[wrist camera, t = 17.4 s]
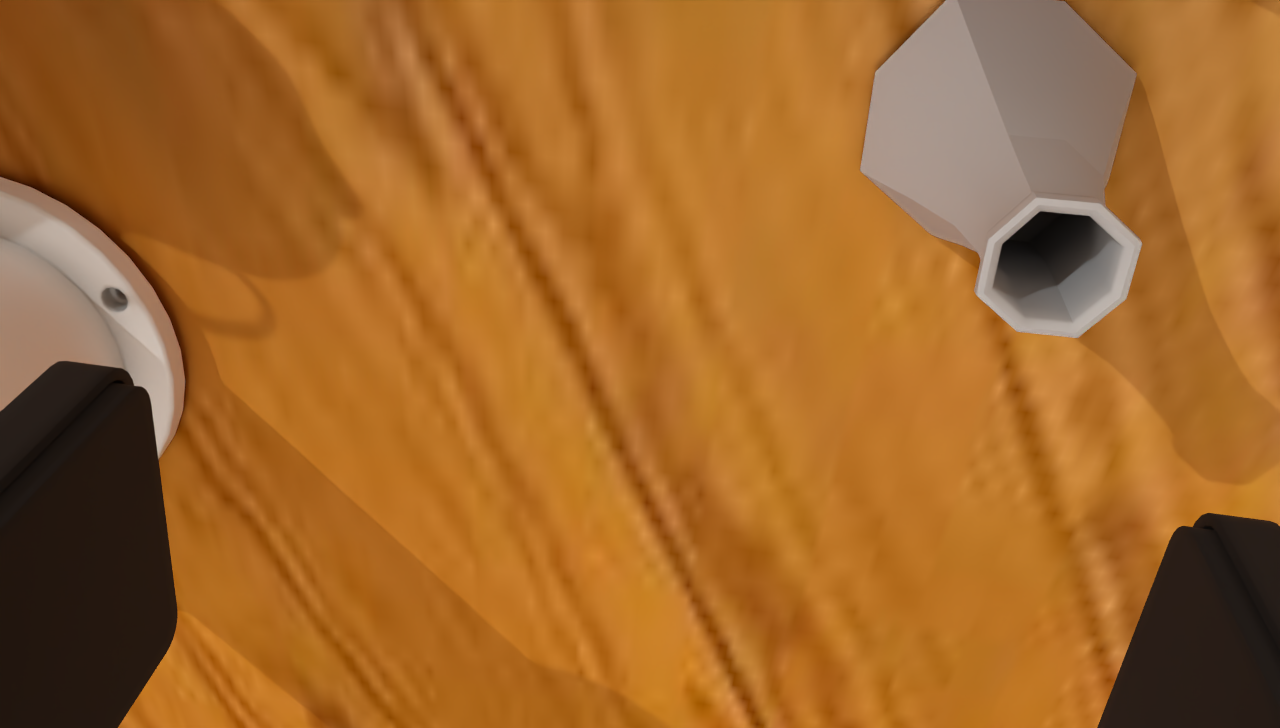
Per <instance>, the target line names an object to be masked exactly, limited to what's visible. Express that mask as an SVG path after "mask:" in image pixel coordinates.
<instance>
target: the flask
mask: <svg viewBox="0 0 1280 728" xmlns="http://www.w3.org/2000/svg"><path fill="white" fill-rule="evenodd" d="M1136 75H1137V73H1136V72H1135V71H1134V70H1133V69H1132V68H1131V67H1130V66H1129V65H1128V64H1127V63H1126V62H1125V61H1124V60H1123V59H1122V58H1121V57H1120V56H1119V55H1118V54H1117V53H1116V52H1115V51H1114V50H1113V49H1112V48H1111V47H1110V46H1109V45H1108V44H1107V43H1106V42H1105V41H1104V40H1103V39H1102V38H1101V37H1100V36H1099V35H1098V34H1097V33H1096V32H1095V31H1094V30H1093V29H1092V28H1091V27H1090V26H1089V25H1088V24H1087V23H1086V22H1085V21H1084V20H1083V19H1082V18H1081V17H1080V16H1079V15H1078V14H1077V13H1076V12H1075V11H1074V10H1073V9H1072V8H1071V7H1070V6H1069V5H1068V4H1067V3H1066V2H1065V1H1056V0H946V1H945V2H944V3H943V4H942V5H941V6H940V7H939V8H938V9H937V10H936V11H935V12H934V13H933V14H932V15H931V16H930V17H929V18H928V19H927V20H926V21H925V22H924V23H923V24H922V25H921V26H920V27H919V28H918V29H917V30H916V31H915V32H914V33H913V34H912V35H911V36H910V37H909V38H908V39H907V40H906V41H905V42H904V43H903V44H902V46H901V47H900V48H899V49H898V50H897V51H896V52H895V53H894V54H893V55H892V56H891V57H890V58H889V59H888V60H887V61H886V62H885V63H884V64H883V65H882V66H881V67H880V68H879V69H878V70H877V71H876V72H875V78H874V84H873V91H872V97H871V103H870V110H869V116H868V123H867V129H866V136H865V142H864V149H863V155H862V162H861V168H860V171H861V172H862V173H863V174H864V175H865V176H866V177H867V178H869V179H870V180H871V181H872V182H873V183H874V184H875V185H876V186H877V187H879V188H880V189H881V190H882V191H883V192H884V193H885V194H886V195H887V196H889V197H890V198H891V199H892V200H893V201H894V202H895V203H896V204H897V205H899V206H900V207H901V208H902V209H903V210H904V211H905V212H906V213H907V214H909V215H910V216H911V217H912V218H913V219H914V220H915V221H916V222H917V223H919V224H920V225H921V226H922V227H923V228H924V229H925V230H926V231H927V232H929V233H930V234H931V235H933V236H936V237H938V238H941V239H944V240H947V241H950V242H953V243H956V244H959V245H962V246H964V247H966V248H969V249H971V250H973V251H975V252H977V253H978V254H979V257H980V259H981V262H980V266H979V271H978V275H977V280H976V285H975V289H974V291H975V293H976V295H977V296H978V297H979V298H980V299H981V300H982V301H984V302H985V303H986V304H987V305H988V306H989V307H990V308H991V309H992V310H994V311H995V312H996V313H997V314H998V315H999V316H1000V317H1001V318H1003V319H1004V320H1005V321H1006V322H1007V323H1008V324H1009V325H1010V326H1011V327H1013V328H1014V329H1015V330H1016V331H1017V332H1026V333H1035V334H1045V335H1054V336H1064V337H1074V338H1078V337H1079V336H1081V335H1082V334H1083V333H1084V332H1086V331H1087V330H1088V329H1089V328H1091V327H1092V326H1093V325H1094V324H1096V323H1097V322H1098V321H1099V320H1101V319H1102V318H1103V317H1104V316H1106V315H1107V314H1108V313H1109V312H1111V311H1112V310H1113V309H1114V308H1116V307H1117V306H1118V305H1119V304H1121V303H1122V302H1123V301H1124V300H1126V298H1127V294H1128V291H1129V287H1130V284H1131V280H1132V277H1133V273H1134V270H1135V267H1136V263H1137V260H1138V256H1139V253H1140V249H1141V246H1142V242H1141V240H1140V238H1139V237H1138V236H1137V235H1136V234H1135V233H1134V232H1132V231H1131V230H1130V229H1129V228H1128V227H1127V226H1126V225H1125V224H1124V223H1123V222H1122V221H1121V220H1120V219H1119V218H1118V217H1117V216H1116V215H1115V214H1114V213H1113V212H1112V211H1110V210H1109V209H1108V208H1107V207H1106V206H1105V192H1104V189H1105V187H1106V185H1107V183H1108V180H1109V177H1110V174H1111V170H1112V166H1113V162H1114V159H1115V155H1116V151H1117V147H1118V143H1119V140H1120V136H1121V132H1122V128H1123V125H1124V121H1125V117H1126V113H1127V109H1128V106H1129V102H1130V98H1131V94H1132V90H1133V87H1134V83H1135V79H1136Z"/></svg>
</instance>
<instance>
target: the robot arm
mask: <svg viewBox="0 0 1280 728" xmlns="http://www.w3.org/2000/svg"><path fill="white" fill-rule="evenodd" d="M184 392H185V375H184V368H183V361H182V355H181V349H180V346H179V343H178V341H177V338H176V335H175V332H174V329H173V326H172V323H171V321H170V318H169V316H168V314H167V313H166V311H165V309H164V307H163V305H162V304H161V302H160V300H159V298H158V296H157V295H156V293H155V291H154V289H153V287H152V286H151V285H150V283H149V282H148V281H147V279H146V278H145V277H144V276H143V274H142V273H141V272H140V270H139V269H138V268H137V267H136V265H135V264H134V263H133V261H132V260H131V259H130V258H129V256H128V255H126V254H125V253H124V252H123V251H122V250H121V249H120V248H119V247H118V246H117V245H116V244H115V243H114V242H113V241H112V240H111V239H110V238H109V237H108V236H107V235H106V234H105V233H103V232H102V231H101V230H100V229H99V228H98V227H96V226H95V225H93V224H92V223H91V222H89V221H88V220H86V219H85V218H84V217H82V216H81V215H79V214H78V213H77V212H75V211H74V210H72V209H71V208H70V207H68V206H67V205H65V204H63V203H61V202H59V201H57V200H55V199H53V198H51V197H49V196H47V195H45V194H44V193H42V192H40V191H38V190H36V189H34V188H32V187H29V186H26V185H23V184H20V183H17V182H14V181H11V180H8V179H5V178H2V177H0V728H118V726H119V725H120V723H121V722H122V720H123V719H124V717H125V716H126V714H127V713H128V711H129V709H130V708H131V706H132V705H133V703H134V702H135V700H136V699H137V697H138V696H139V694H140V693H141V691H142V689H143V688H144V686H145V685H146V683H147V682H148V680H149V679H150V677H151V676H152V674H153V672H154V671H155V669H156V668H157V666H158V665H159V663H160V662H161V660H162V659H163V657H164V655H165V654H166V652H167V651H168V649H169V647H170V645H171V642H172V640H173V637H174V633H175V629H176V624H177V603H176V595H175V588H174V580H173V572H172V564H171V556H170V548H169V540H168V532H167V524H166V516H165V508H164V501H163V493H162V485H161V477H160V469H159V461H158V459H159V458H160V457H161V456H162V454H163V453H164V451H165V450H166V448H167V447H168V445H169V443H170V442H171V440H172V439H173V437H174V436H175V433H176V430H177V427H178V424H179V421H180V418H181V415H182V412H183V406H184ZM1098 728H1280V527H1279V525H1278V524H1277V523H1274V522H1271V521H1265V520H1258V519H1250V518H1243V517H1235V516H1228V515H1220V514H1213V513H1207V514H1204V515H1202V516H1201V517H1200V518H1199V519H1198V520H1197V521H1196V522H1195V524H1194V526H1193V527H1187V526H1182V527H1179V528H1178V529H1177V530H1176V531H1175V532H1174V533H1173V535H1172V537H1171V539H1170V541H1169V544H1168V547H1167V549H1166V552H1165V554H1164V557H1163V559H1162V562H1161V565H1160V567H1159V570H1158V572H1157V575H1156V578H1155V580H1154V583H1153V585H1152V588H1151V590H1150V593H1149V596H1148V598H1147V601H1146V603H1145V606H1144V609H1143V611H1142V614H1141V616H1140V619H1139V621H1138V624H1137V627H1136V629H1135V632H1134V634H1133V637H1132V640H1131V642H1130V645H1129V647H1128V650H1127V653H1126V655H1125V658H1124V660H1123V663H1122V665H1121V668H1120V671H1119V673H1118V676H1117V678H1116V681H1115V684H1114V686H1113V689H1112V691H1111V694H1110V696H1109V699H1108V702H1107V704H1106V707H1105V709H1104V712H1103V715H1102V717H1101V720H1100V722H1099V725H1098Z"/></svg>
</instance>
